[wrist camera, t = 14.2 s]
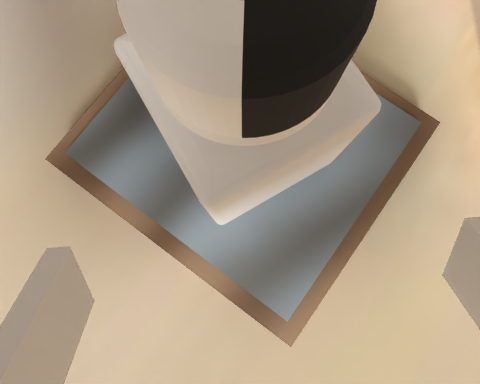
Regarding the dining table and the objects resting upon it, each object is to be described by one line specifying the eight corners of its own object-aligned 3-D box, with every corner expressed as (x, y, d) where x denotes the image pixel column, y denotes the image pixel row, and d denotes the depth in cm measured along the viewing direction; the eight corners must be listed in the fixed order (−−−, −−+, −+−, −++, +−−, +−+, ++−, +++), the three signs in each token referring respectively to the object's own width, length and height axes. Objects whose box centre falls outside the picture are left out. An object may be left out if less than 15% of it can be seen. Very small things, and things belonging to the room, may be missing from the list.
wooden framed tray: (65, 169, 23) (40, 156, 20) (209, -1, 26) (204, -34, 23) (285, 336, 21) (292, 349, 18) (419, 136, 24) (444, 119, 21)
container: (266, 57, 22) (301, -232, 9) (334, 161, 20) (490, 1, 8) (155, 116, 21) (19, -104, 8) (219, 228, 20) (175, 176, 7)
